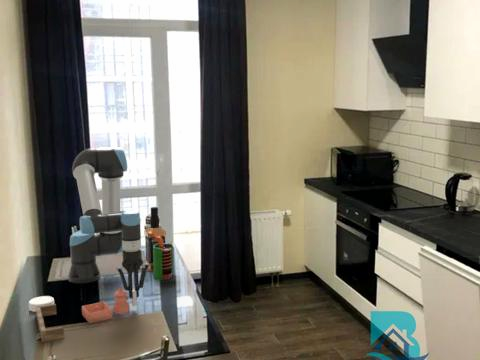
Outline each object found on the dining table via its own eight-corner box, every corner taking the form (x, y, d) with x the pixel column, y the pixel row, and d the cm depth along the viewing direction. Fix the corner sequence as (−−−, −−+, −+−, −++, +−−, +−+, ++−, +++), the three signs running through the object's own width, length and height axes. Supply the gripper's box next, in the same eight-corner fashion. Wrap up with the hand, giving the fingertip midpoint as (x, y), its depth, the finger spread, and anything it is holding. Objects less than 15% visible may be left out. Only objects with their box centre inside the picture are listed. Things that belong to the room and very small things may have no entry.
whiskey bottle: (144, 266, 271) (142, 206, 267) (163, 264, 275) (161, 204, 271) (149, 272, 262) (147, 209, 257) (168, 269, 266) (166, 208, 261)
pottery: (89, 324, 201) (88, 299, 199) (82, 316, 209) (81, 292, 207) (133, 313, 210) (132, 290, 209) (125, 306, 218) (124, 284, 217)
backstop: (36, 316, 208) (35, 306, 207) (56, 312, 211) (55, 303, 211) (42, 342, 185) (41, 331, 184) (64, 338, 188) (63, 327, 187)
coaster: (57, 303, 222) (57, 295, 222) (50, 312, 212) (49, 304, 212) (34, 303, 222) (33, 295, 221) (25, 312, 212) (24, 304, 212)
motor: (168, 280, 249) (166, 240, 246) (150, 279, 251) (149, 239, 248) (175, 274, 259) (173, 234, 256) (158, 273, 260) (156, 234, 258)
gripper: (117, 253, 204) (120, 311, 207) (150, 249, 210) (152, 305, 213) (113, 249, 211) (116, 304, 214) (145, 245, 216) (147, 299, 220)
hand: (134, 305), depth 213 cm, fingers closed
